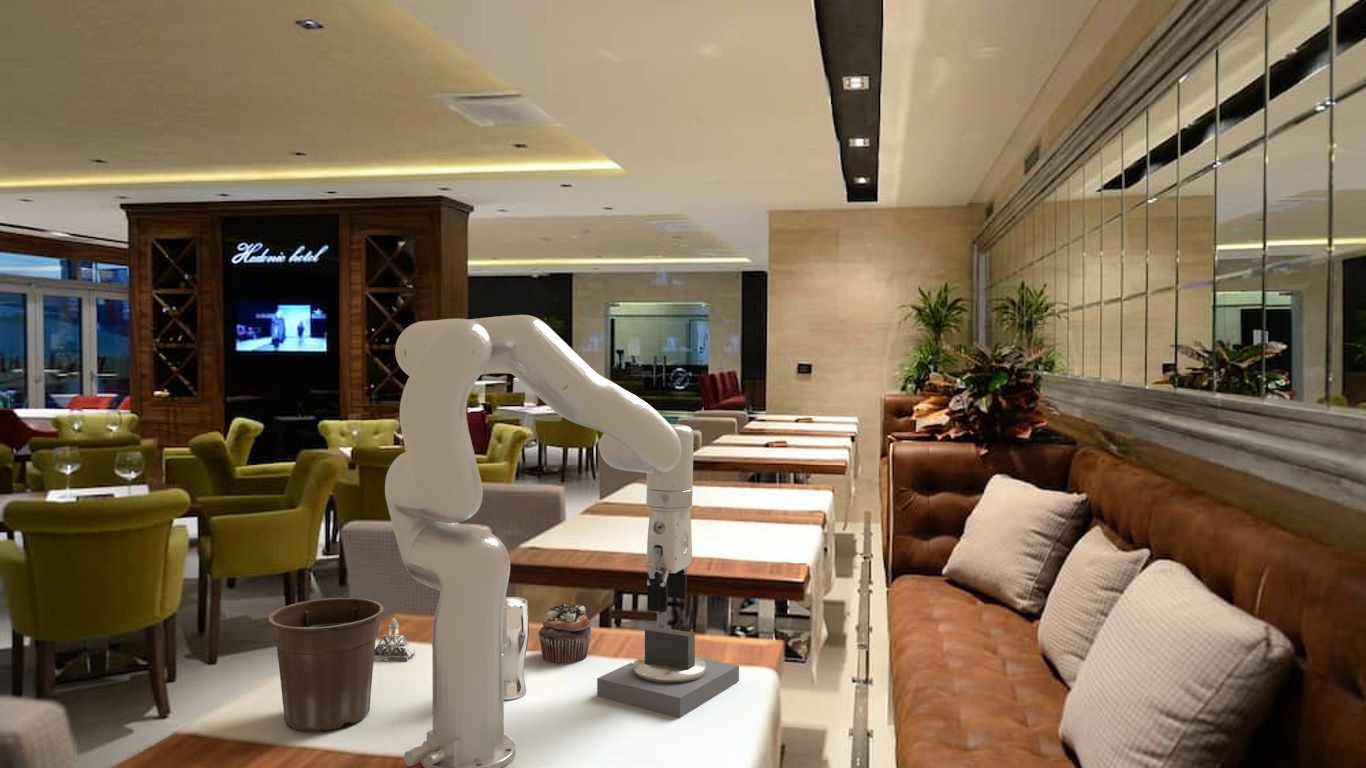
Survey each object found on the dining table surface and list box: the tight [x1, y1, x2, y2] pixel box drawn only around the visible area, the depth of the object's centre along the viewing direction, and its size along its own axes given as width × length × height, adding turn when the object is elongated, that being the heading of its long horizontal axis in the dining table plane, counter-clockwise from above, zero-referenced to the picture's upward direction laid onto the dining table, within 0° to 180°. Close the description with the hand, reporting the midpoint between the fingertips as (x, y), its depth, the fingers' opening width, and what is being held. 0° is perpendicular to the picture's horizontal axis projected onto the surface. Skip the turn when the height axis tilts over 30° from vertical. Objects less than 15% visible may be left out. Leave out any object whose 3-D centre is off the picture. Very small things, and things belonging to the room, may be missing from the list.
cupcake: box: [537, 601, 592, 665], centre depth 167 cm, size 10×10×10 cm
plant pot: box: [268, 597, 384, 732], centre depth 140 cm, size 16×16×16 cm
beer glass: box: [503, 596, 530, 701], centre depth 149 cm, size 7×7×15 cm
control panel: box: [596, 656, 740, 718], centre depth 151 cm, size 18×16×3 cm
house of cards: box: [374, 617, 416, 662], centre depth 170 cm, size 9×9×8 cm
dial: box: [633, 625, 706, 683], centre depth 151 cm, size 12×12×6 cm
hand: (667, 604), depth 151 cm, fingers open, 9 cm apart
